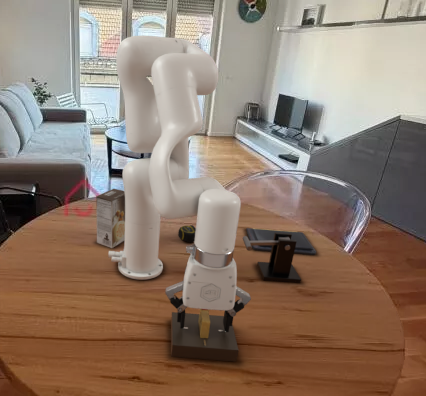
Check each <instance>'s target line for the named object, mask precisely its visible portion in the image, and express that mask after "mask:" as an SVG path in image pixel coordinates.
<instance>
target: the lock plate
mask: <svg viewBox="0 0 426 396" xmlns="http://www.w3.org/2000/svg"><path fill="white" fill-rule="evenodd" d="M177 313H178V311H176V312H175V311H172V312H171V317H170V319H171V320H170V346H171V347H170V357H173V358H185V359H186V358H187V359H196V360H197V359H200V360H210V361H224V362H234V363H235V362H237V360H238V356H239V346H238V343H237V338H236V333H235V330H234V325H233V324H232V326H229V332H226V331H225V330H224V325H223V318H224V315H217V314H216V315H215V314H214V315H213V314H209V318H210V328H209V335H208V338H200V330H199V313H190V312H189V313H188V312H185V322H184V328H183V329H180V322H177Z"/></svg>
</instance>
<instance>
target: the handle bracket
mask: <svg viewBox="0 0 426 396" xmlns="http://www.w3.org/2000/svg"><path fill="white" fill-rule="evenodd" d="M278 237H289V238H290V240H288V239H279V241H278V245H272V250H271V252H270V255H269V261H257V263H256V266H257V269H258V271H259V274H260V276H261V278H262V280H263V282H264V281H266V282H278V283H279V282H280V283H295V284H301V282H302V278H301V277H300V275H299V273H298V272H297V270H296V268H295V267H294V264H293V259H294V256H295V253H294V251H295V247H296V240H291V237H292V234H291V233H279V232H275V234H274V240H278Z"/></svg>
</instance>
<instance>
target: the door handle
mask: <svg viewBox="0 0 426 396" xmlns="http://www.w3.org/2000/svg"><path fill="white" fill-rule="evenodd" d="M279 239H288V240H290V238H289V237H278V240H265V241H250V240H249V237H248V235H244V236H242V242H243V243H244V247H245V248H246V250H247V251H249V252H251V251H252V250H253V248H252V246H256V245H278V241H279Z"/></svg>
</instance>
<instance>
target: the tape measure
mask: <svg viewBox="0 0 426 396" xmlns="http://www.w3.org/2000/svg"><path fill="white" fill-rule="evenodd" d="M195 231H196V226H194V225H182V226H180V227H179V229H178V232H177V235H178V238H179V239H180V240H182V241H183V242H186V243H194V241H195Z"/></svg>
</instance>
